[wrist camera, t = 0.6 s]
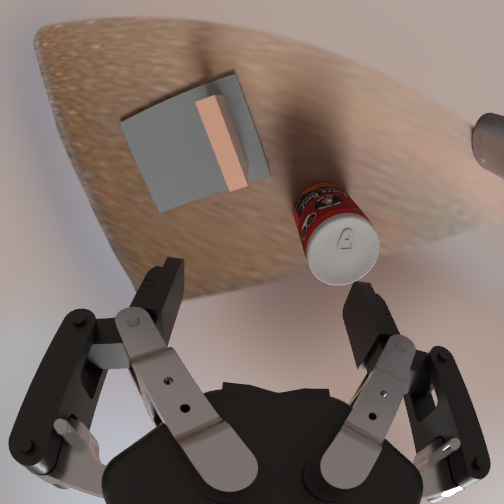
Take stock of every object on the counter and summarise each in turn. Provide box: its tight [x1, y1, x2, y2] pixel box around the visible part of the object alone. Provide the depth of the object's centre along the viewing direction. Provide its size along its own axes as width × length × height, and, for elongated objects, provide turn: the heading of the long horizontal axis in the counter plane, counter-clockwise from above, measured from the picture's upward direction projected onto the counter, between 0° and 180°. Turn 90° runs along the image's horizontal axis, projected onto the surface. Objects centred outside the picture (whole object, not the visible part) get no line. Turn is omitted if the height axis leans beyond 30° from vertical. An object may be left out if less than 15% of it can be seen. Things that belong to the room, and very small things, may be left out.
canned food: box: [294, 183, 380, 285], centre depth 32 cm, size 8×8×11 cm
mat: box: [120, 74, 271, 213], centre depth 33 cm, size 15×13×1 cm
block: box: [195, 95, 249, 192], centre depth 28 cm, size 2×9×8 cm, turn 18°
